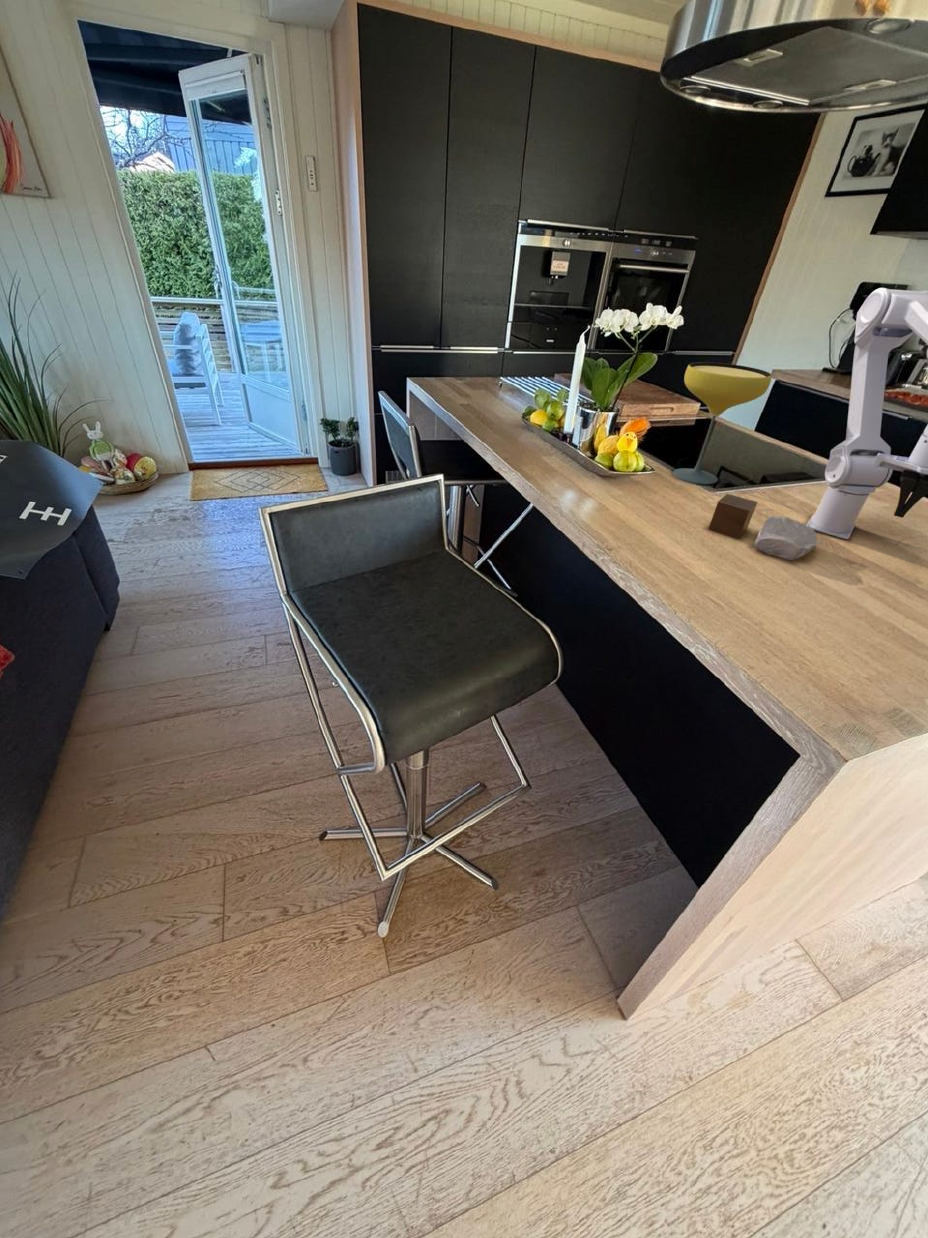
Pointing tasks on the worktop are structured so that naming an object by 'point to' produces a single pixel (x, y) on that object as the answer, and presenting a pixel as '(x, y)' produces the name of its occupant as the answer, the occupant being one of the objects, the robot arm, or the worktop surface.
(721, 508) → the walnut cube
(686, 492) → the worktop surface
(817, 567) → the worktop surface
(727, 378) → the cocktail glass
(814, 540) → the grey rock
